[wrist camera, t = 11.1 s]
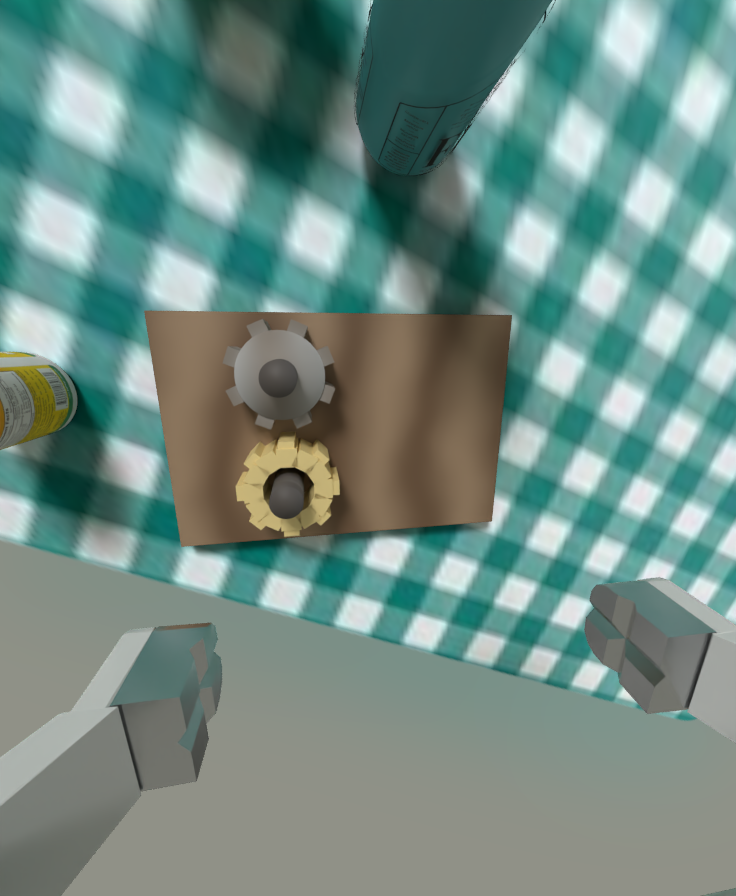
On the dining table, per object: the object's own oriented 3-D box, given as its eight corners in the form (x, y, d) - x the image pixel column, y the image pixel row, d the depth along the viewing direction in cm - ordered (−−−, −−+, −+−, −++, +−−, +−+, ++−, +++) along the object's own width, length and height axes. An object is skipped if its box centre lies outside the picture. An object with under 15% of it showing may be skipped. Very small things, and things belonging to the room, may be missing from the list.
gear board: (501, 317, 27) (559, 307, 21) (483, 513, 31) (526, 554, 25) (154, 313, 23) (98, 300, 17) (188, 536, 27) (153, 590, 21)
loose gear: (335, 429, 26) (338, 440, 23) (337, 513, 27) (340, 533, 24) (239, 433, 25) (230, 444, 22) (248, 520, 26) (240, 540, 23)
